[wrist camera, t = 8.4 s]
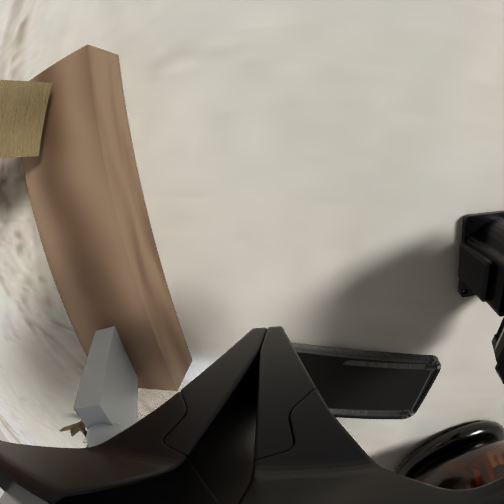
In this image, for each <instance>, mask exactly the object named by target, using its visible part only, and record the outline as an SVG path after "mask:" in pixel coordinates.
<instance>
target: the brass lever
mask: <svg viewBox="0 0 504 504" xmlns="http://www.w3.org/2000/svg"><path fill="white" fill-rule="evenodd" d="M51 86H52V83H45V82H31V81H10V80H0V158H13V157H30V156H39V150H40V142H41V136H42V130H43V124H44V118H45V113H46V108H47V103H48V99H49V94H50V90H51Z"/></svg>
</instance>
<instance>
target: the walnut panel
mask: <svg viewBox="0 0 504 504" xmlns="http://www.w3.org/2000/svg"><path fill="white" fill-rule="evenodd" d="M30 81H31V82H45V83H52V86H51V90H50V94H49V99H48V103H47V108H46V113H45V118H44V124H43V130H42V136H41V142H40V150H39V156H30V157H22V162H23V168H24V173H25V178H26V183H27V188H28V192H29V197H30V201H31V205H32V209H33V213H34V217H35V221H36V225H37V228H38V232H39V235H40V239H41V242H42V245H43V248H44V252H45V255H46V258H47V261H48V264H49V267H50V270H51V272H52V275H53V278H54V281H55V284H56V286H57V289H58V291H59V294H60V297H61V299H62V302H63V304H64V307H65V309H66V311H67V314H68V316H69V318H70V321H71V323H72V325H73V328H74V330H75V332H76V334H77V336H78V338H79V341H80V343H81V345H82V347H83V349H84V351H85V353H86V355H87V357H88V354H89V351H90V347H91V344H92V341H93V338H94V335H95V332H96V331H97V330H101V329H105V328H109V327H113V326H115V328H116V330H117V333H118V335H119V338H120V340H121V342H122V344H123V347H124V349H125V351H126V353H127V356H128V358H129V360H130V362H131V364H132V366H133V369H134V371H135V373H136V375H137V377H138V388H147V389H159V390H174V391H178V389H179V387H180V385H181V382H182V380H183V378H184V376H185V374H186V372H187V370H188V368H189V366H190V364H191V362H192V359H191V356H190V353H189V350H188V348H187V345H186V342H185V339H184V336H183V333H182V330H181V327H180V324H179V321H178V318H177V315H176V312H175V309H174V306H173V303H172V299H171V296H170V293H169V290H168V286H167V283H166V280H165V276H164V273H163V269H162V266H161V262H160V259H159V255H158V252H157V248H156V244H155V241H154V237H153V233H152V229H151V225H150V221H149V217H148V213H147V209H146V205H145V201H144V197H143V192H142V188H141V184H140V179H139V174H138V170H137V165H136V160H135V155H134V150H133V145H132V140H131V135H130V129H129V124H128V118H127V112H126V106H125V100H124V93H123V86H122V79H121V72H120V64H119V56H118V55H116V54H114V53H111V52H108V51H105V50H102V49H99V48H96V47H93V46H90V45H86V46H84V47H82V48H81V49H79V50H77V51H75V52H74V53H72V54H70V55H68V56H67V57H65V58H63V59H62V60H60V61H58V62H57V63H55V64H54V65H52V66H51V67H49V68H47V69H46V70H44V71H43V72H41V73H40V74H38V75H37V76H36V77H34V78H33V79H31V80H30Z"/></svg>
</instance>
